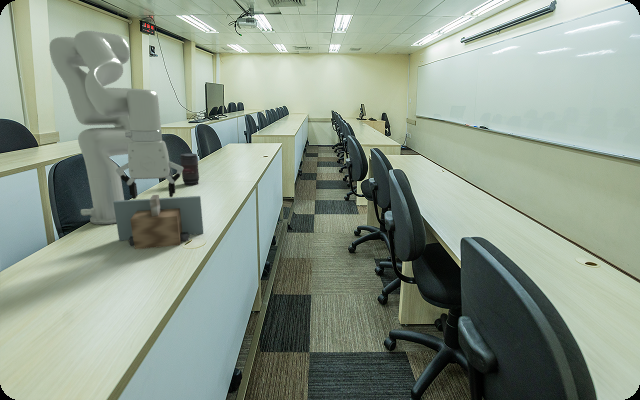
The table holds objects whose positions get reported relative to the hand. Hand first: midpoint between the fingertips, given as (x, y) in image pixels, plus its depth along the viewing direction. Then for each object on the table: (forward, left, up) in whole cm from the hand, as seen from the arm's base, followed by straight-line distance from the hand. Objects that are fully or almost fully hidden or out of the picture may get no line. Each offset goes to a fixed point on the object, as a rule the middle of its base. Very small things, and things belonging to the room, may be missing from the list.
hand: (153, 196), depth 101 cm
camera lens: (+3, +78, -14) cm, 79 cm away
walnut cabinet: (0, 0, -14) cm, 14 cm away
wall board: (0, +5, -14) cm, 15 cm away
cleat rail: (0, 0, -14) cm, 14 cm away
